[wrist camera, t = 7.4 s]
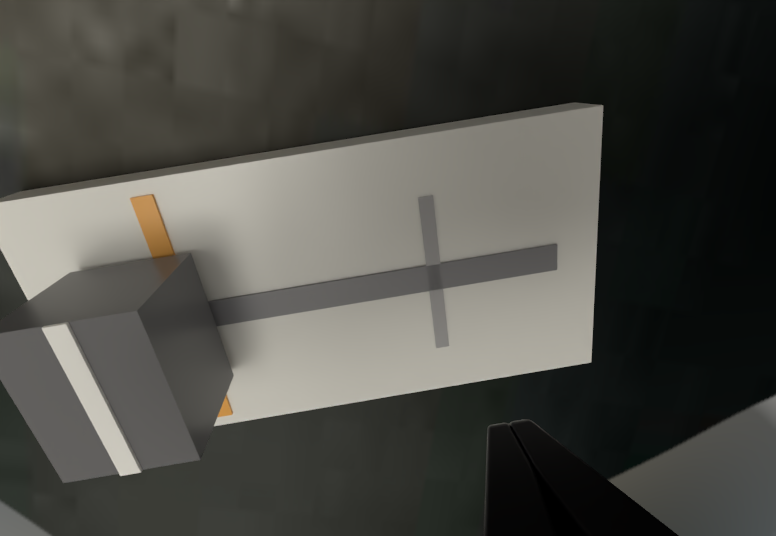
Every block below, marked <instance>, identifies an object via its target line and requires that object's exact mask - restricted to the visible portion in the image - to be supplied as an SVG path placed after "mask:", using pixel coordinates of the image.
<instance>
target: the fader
mask: <svg viewBox="0 0 776 536" xmlns="http://www.w3.org/2000/svg"><path fill="white" fill-rule="evenodd" d="M233 376H234V375H233V372H232V369H231V366H230V363H229V360H228V357H227V355H226V352H225V349H224V346H223V343H222V340H221V337H220V334H219V332H218V329H217V326H216V323H215V320H214V317H213V314H212V312H211V309H210V306H209V303H208V300H207V297H206V294H205V291H204V289H203V286H202V283H201V280H200V277H199V274H198V271H197V269H196V266H195V263H194V260H193V257H192V254H191V253H185V254H179V255H173V256H167V257H161V258H155V259H149V260H143V261H137V262H130V263H124V264H118V265H112V266H106V267H100V268H94V269H88V270H82V271H75V272H70V273H68V274H67V275H65V276H64V277H62V278H61V279H60V280H58V281H57V282H55V283H54V284H52V285H51V286H49V287H48V288H46V289H45V290H43V291H42V292H41V293H39V294H38V295H36V296H35V297H33V298H32V299H30V300H29V301H27V302H26V303H24V304H23V305H22V306H20V307H19V308H17V309H16V310H14V311H13V312H11V313H10V314H8V315H7V316H5V317H4V318H3V319H1V320H0V380H1V381H2V383H3V385H4V386H5V388H6V390H7V391H8V393H9V394H10V396H11V398H12V399H13V401H14V403H15V404H16V406H17V408H18V409H19V411H20V412H21V414H22V416H23V417H24V419H25V421H26V422H27V424H28V426H29V427H30V429H31V431H32V432H33V434H34V435H35V437H36V439H37V440H38V442H39V444H40V445H41V447H42V449H43V450H44V452H45V453H46V455H47V457H48V458H49V460H50V462H51V463H52V465H53V467H54V468H55V470H56V471H57V473H58V475H59V476H60V478H61V480H62V481H63V483H67V482H73V481H79V480H84V479H90V478H96V477H102V476H108V475H114V474H119V475H120V476H123V475H129V474H135V473H141V471H142V470H143V469H149V468H155V467H161V466H167V465H173V464H178V463H184V462H190V461H196V460H201V457H202V455H203V452H204V450H205V447H206V445H207V442H208V440H209V437H210V434H211V432H212V429H213V427H214V424H215V422H216V419H217V417H218V414H219V412H220V409H221V407H222V404H223V402H224V399H225V397H226V394H227V392H228V389H229V386H230V384H231V381H232V379H233Z"/></svg>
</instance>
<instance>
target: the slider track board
mask: <svg viewBox="0 0 776 536" xmlns="http://www.w3.org/2000/svg"><path fill="white" fill-rule="evenodd" d="M602 123H603V105H596V104H586V103H575V102H574V103H567V104H561V105H555V106H549V107H542V108H536V109H530V110H524V111H518V112H511V113H505V114H499V115H493V116H486V117H480V118H474V119H468V120H462V121H455V122H449V123H443V124H437V125H430V126H424V127H418V128H412V129H406V130H399V131H393V132H387V133H381V134H374V135H368V136H362V137H356V138H350V139H343V140H337V141H331V142H325V143H318V144H312V145H306V146H300V147H294V148H287V149H281V150H275V151H269V152H262V153H256V154H250V155H244V156H238V157H231V158H225V159H219V160H213V161H206V162H200V163H194V164H188V165H182V166H175V167H169V168H163V169H157V170H150V171H144V172H138V173H132V174H126V175H119V176H113V177H107V178H101V179H94V180H88V181H82V182H76V183H70V184H63V185H57V186H51V187H45V188H38V189H32V190H26V191H21V192H18V193H15V194H12V195H9V196H6V197H3V198H0V249H1V250H2V252H3V254H4V256H5V258H6V260H7V262H8V264H9V265H10V267H11V269H12V271H13V273H14V275H15V277H16V279H17V281H18V282H19V284H20V286H21V288H22V290H23V292H24V294H25V296H26V297H27V299H28V301H29V300H30V299H32V298H33V297H35V296H36V295H38V294H39V293H41V292H42V291H43V290H45V289H46V288H48V287H49V286H51V285H52V284H54V283H55V282H57V281H58V280H60V279H61V278H62V277H64V276H65V275H67V274H68V273H70V272H75V271H82V270H88V269H94V268H100V267H106V266H112V265H118V264H124V263H130V262H137V261H143V260H149V259H155V258H161V257H167V256H173V255H179V254H185V253H191V254H192V257H193V260H194V263H195V266H196V269H197V271H198V274H199V277H200V280H201V283H202V286H203V289H204V291H205V294H206V297H207V300H208V303H209V306H210V309H211V312H212V314H213V317H214V320H215V323H216V326H217V329H218V332H219V334H220V337H221V340H222V343H223V346H224V349H225V352H226V355H227V357H228V360H229V363H230V366H231V369H232V372H233V375H234V376H233V379H232V381H231V384H230V386H229V389H228V392H227V394H226V397H225V399H224V402H223V404H222V407H221V409H220V412H219V414H218V417H217V419H216V422H215V424H214V426H218V425H224V424H230V423H236V422H242V421H248V420H254V419H259V418H265V417H271V416H277V415H283V414H289V413H295V412H301V411H307V410H313V409H319V408H325V407H330V406H336V405H342V404H348V403H354V402H360V401H366V400H372V399H378V398H384V397H390V396H395V395H401V394H407V393H413V392H419V391H425V390H431V389H437V388H443V387H449V386H455V385H461V384H466V383H472V382H478V381H484V380H490V379H496V378H502V377H508V376H514V375H520V374H526V373H531V372H537V371H543V370H549V369H555V368H561V367H567V366H573V365H579V364H585V363H591V357H592V336H593V315H594V293H595V272H596V251H597V229H598V208H599V187H600V166H601V144H602Z"/></svg>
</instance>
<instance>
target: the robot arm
mask: <svg viewBox="0 0 776 536" xmlns="http://www.w3.org/2000/svg"><path fill="white" fill-rule="evenodd" d="M484 536H678V535H677V534H676V533H674V532H673V531H672V530H671V529H669V528H668V527H667V526H665V525H664V524H663V523H662V522H660V521H659V520H658V519H656V518H655V517H654V516H653V515H651V514H650V513H649V512H648V511H646V510H645V509H644V508H643V507H641V506H640V505H639V504H637V503H636V502H635V501H634V500H632V499H631V498H630V497H628V496H627V495H626V494H625V493H623V492H622V491H621V490H620V489H618V488H617V487H616V486H614V485H613V484H612V483H611V482H609V481H608V480H607V479H605V478H604V477H603V476H602V475H600V474H599V473H598V472H597V471H595V470H594V469H593V468H591V467H590V466H589V465H588V464H586V463H585V462H584V461H583V460H581V459H580V458H579V457H577V456H576V455H575V454H574V453H572V452H571V451H570V450H568V449H567V448H566V447H565V446H563V445H562V444H561V443H560V442H558V441H557V440H556V439H554V438H553V437H552V436H551V435H549V434H548V433H547V432H545V431H544V430H543V429H542V428H540V427H539V426H538V425H537V424H535V423H534V422H533V421H531V420H529V419H524V420H518V421H512V422H510V423H509V424H507V423H500V424H494V425H490V426H488V429H487V455H486V483H485V510H484Z"/></svg>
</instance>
